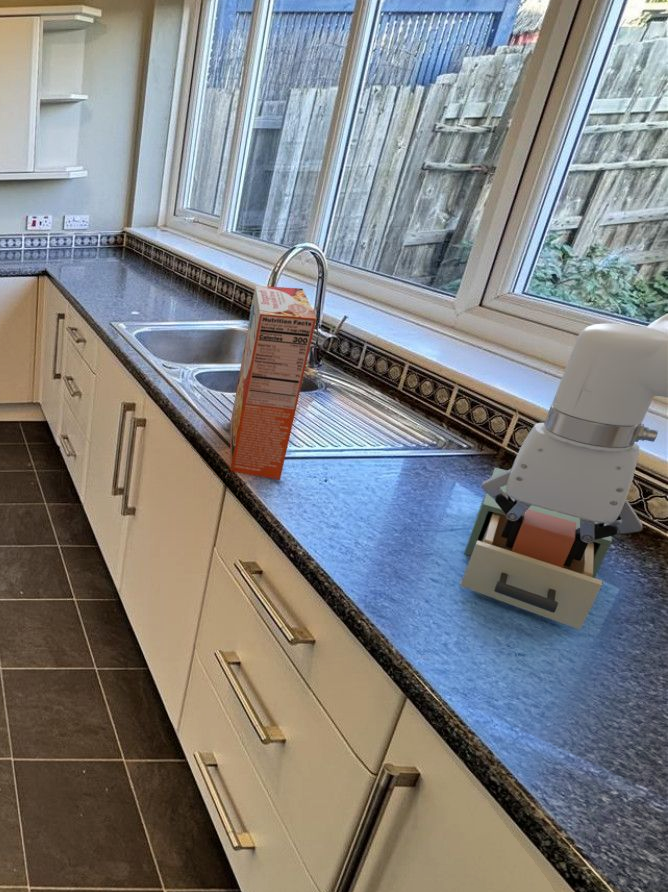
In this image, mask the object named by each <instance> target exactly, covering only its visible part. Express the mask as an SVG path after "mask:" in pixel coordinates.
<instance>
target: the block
mask: <svg viewBox="0 0 668 892" xmlns="http://www.w3.org/2000/svg"><path fill="white" fill-rule="evenodd" d="M575 535H576V523H575V522H572V521H568V520H565V519H561V518H557V517H554V516H550V515H547V514H543V513H540V512H536V511H533V510H529V509H527V510H526V512H525V513H524V514H523V520H522V524H521V527H520V530H519V532H518V535H517V537H516V540H515V542H514V545H513V547H512V549H511V551H512V552H515V553H518V554H521V555H524V556H528V557H531V558H534V559H537V560H540V561H543V562H546V563H549V564H552V565H555V566H559V567H562V568H563V565H564V563H565V561H566V559H567V556H568V554H569V552H570V550H571V547H572V545H573V543H574V541H575Z"/></svg>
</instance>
